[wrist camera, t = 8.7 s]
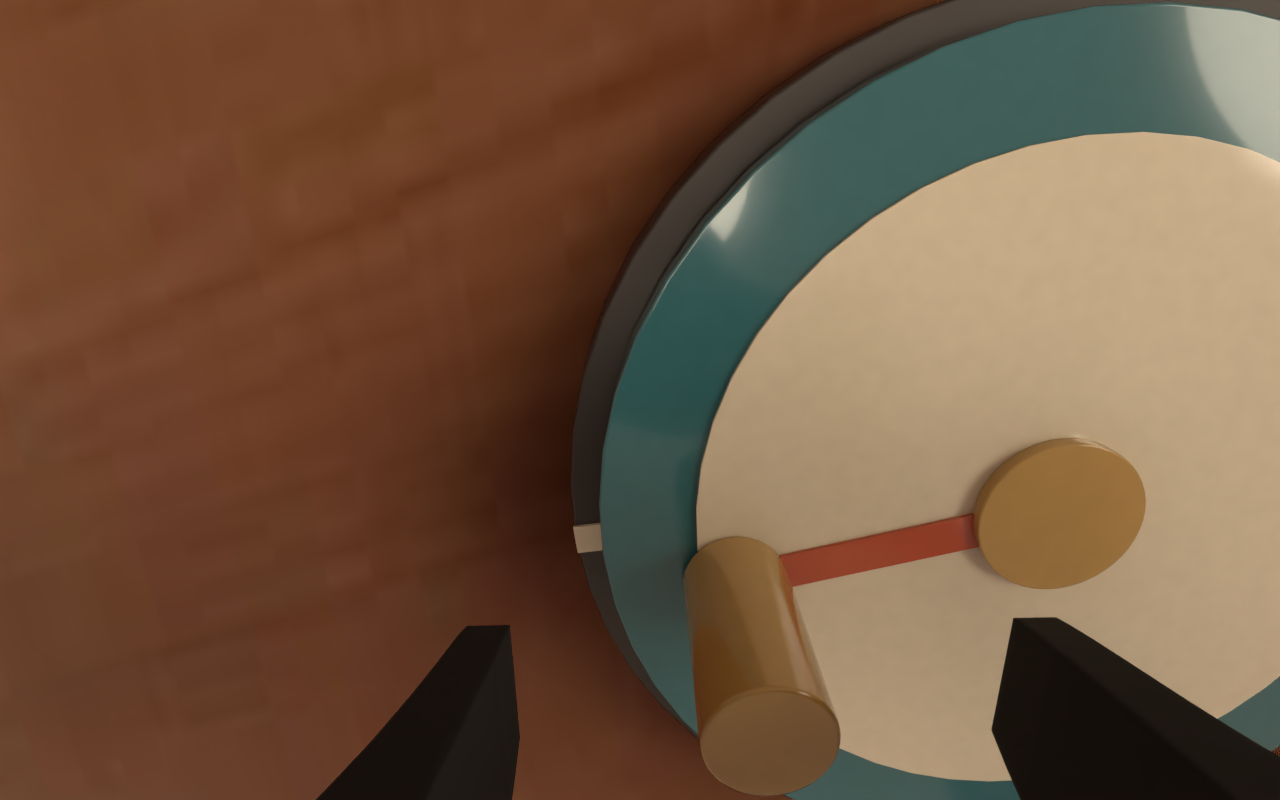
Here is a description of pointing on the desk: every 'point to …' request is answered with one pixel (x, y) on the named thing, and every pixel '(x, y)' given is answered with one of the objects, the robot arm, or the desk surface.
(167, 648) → the desk surface
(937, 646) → the turntable with peg
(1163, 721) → the robot arm
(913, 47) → the stand
